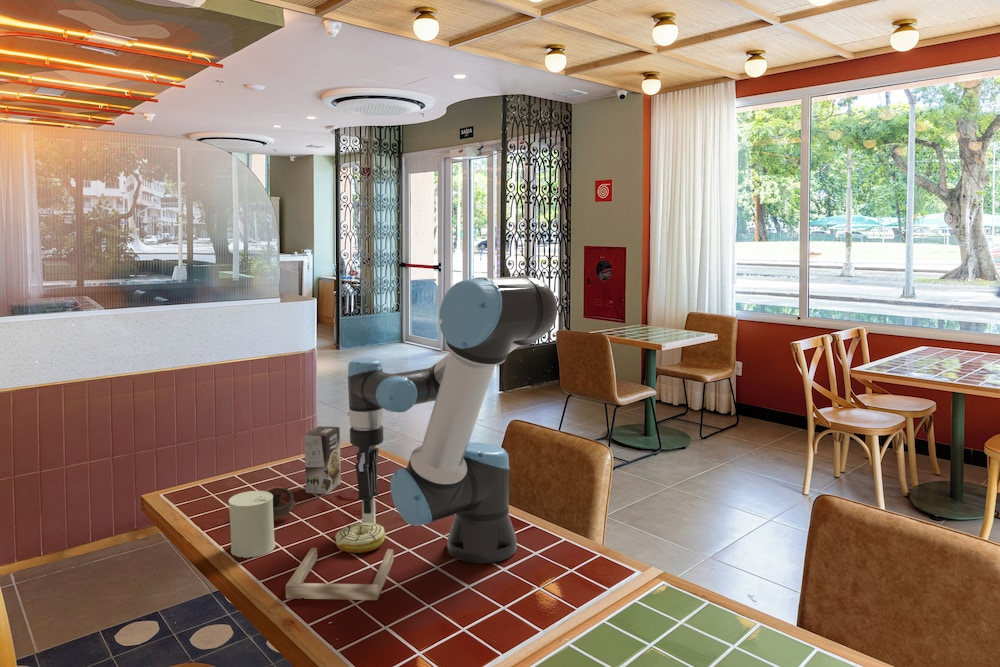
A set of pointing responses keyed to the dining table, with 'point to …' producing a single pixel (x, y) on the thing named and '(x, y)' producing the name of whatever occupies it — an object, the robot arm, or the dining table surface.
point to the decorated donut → (360, 537)
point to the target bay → (336, 590)
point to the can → (251, 524)
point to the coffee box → (322, 460)
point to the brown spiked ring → (281, 502)
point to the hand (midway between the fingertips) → (369, 524)
